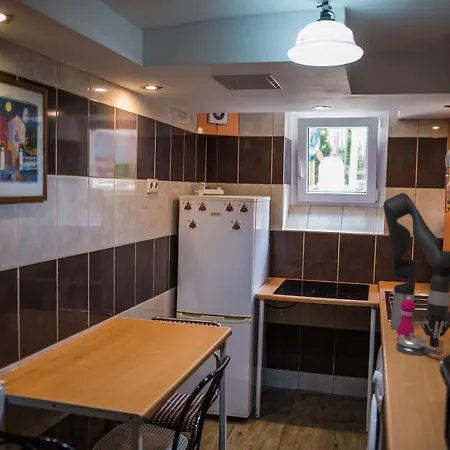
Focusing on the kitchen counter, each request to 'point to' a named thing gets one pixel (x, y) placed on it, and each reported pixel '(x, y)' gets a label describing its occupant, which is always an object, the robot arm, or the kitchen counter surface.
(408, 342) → the crank handle
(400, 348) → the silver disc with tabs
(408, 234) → the robot arm
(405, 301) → the pepper mill
